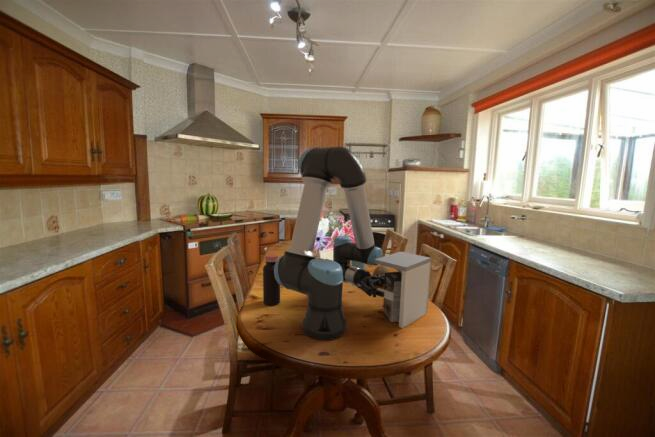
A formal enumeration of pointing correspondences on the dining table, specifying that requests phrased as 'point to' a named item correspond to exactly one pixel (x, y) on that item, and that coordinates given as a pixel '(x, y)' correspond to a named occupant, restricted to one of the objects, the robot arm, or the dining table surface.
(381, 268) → the natural sponge
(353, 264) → the cup
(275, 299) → the bottle
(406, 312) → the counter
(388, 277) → the coffee box
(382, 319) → the dining table surface
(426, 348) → the dining table surface
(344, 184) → the robot arm
